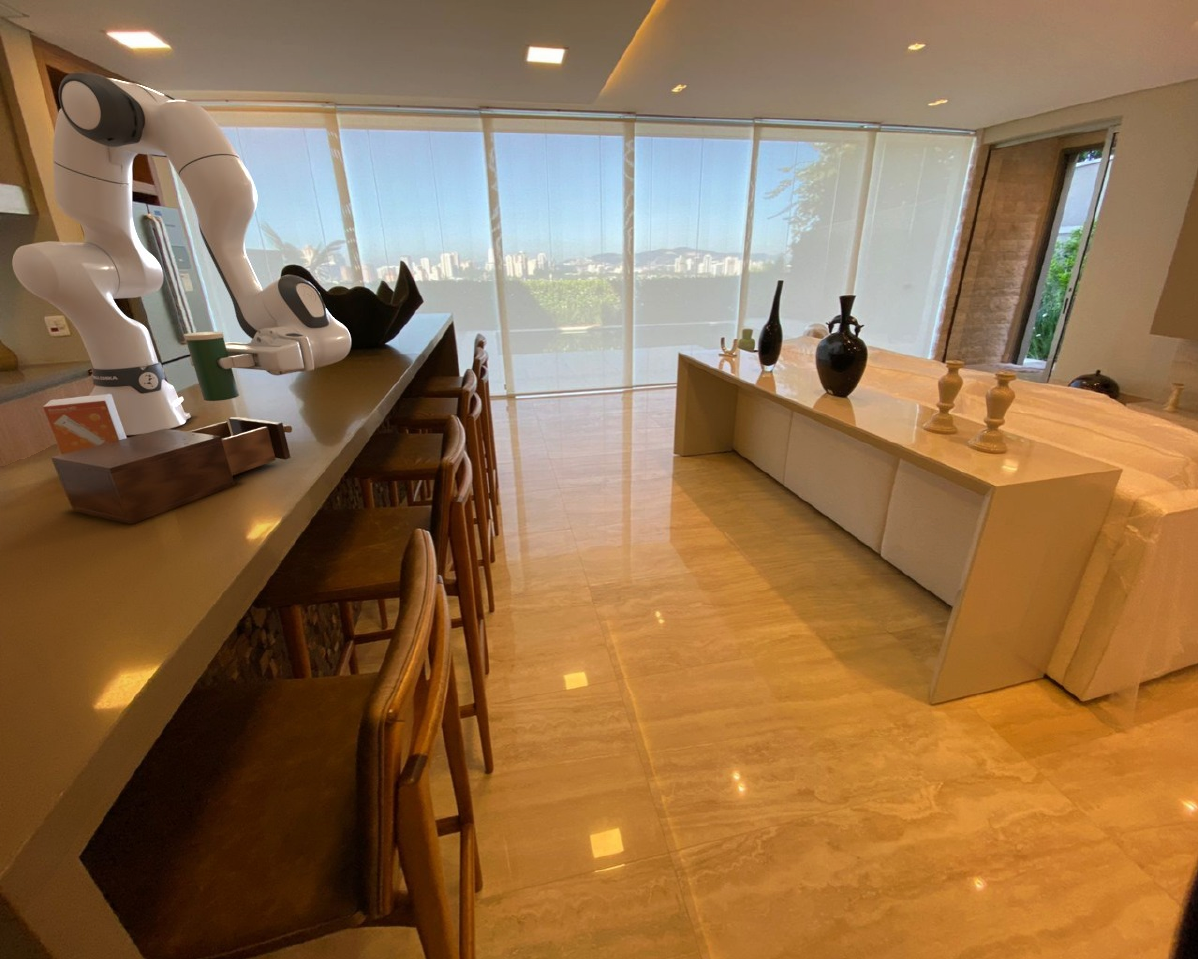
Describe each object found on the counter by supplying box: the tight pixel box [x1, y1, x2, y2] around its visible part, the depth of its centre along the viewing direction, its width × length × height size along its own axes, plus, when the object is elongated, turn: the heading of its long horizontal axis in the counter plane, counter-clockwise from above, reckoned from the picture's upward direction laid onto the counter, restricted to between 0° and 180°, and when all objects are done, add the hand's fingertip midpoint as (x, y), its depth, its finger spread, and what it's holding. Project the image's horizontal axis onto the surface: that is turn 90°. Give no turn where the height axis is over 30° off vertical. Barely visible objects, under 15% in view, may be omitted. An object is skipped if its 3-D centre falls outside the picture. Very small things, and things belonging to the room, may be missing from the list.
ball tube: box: [183, 331, 240, 402], centre depth 91 cm, size 5×5×11 cm
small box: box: [42, 394, 127, 455], centre depth 94 cm, size 8×6×13 cm
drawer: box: [186, 416, 293, 477], centre depth 95 cm, size 19×12×7 cm, turn 159°
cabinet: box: [50, 428, 236, 525], centre depth 82 cm, size 16×14×9 cm
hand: (206, 362), depth 90 cm, fingers closed on ball tube, 5 cm apart
